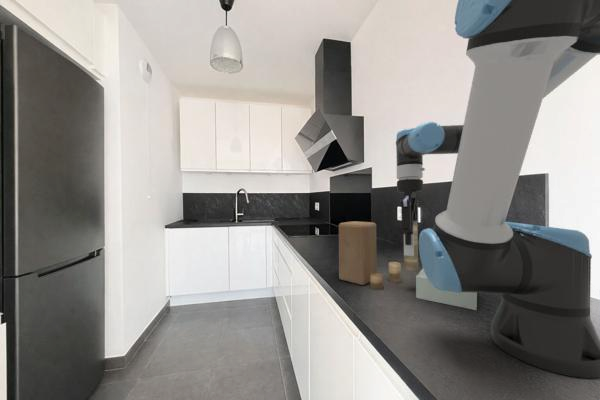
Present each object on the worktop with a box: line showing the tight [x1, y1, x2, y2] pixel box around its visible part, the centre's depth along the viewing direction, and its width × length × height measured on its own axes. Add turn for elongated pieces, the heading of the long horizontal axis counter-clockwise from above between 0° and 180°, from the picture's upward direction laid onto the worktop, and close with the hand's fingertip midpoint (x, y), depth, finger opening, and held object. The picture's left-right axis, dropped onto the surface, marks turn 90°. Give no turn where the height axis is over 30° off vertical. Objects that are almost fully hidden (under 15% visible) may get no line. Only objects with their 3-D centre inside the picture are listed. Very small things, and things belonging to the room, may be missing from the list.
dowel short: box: [369, 273, 384, 291], centre depth 79 cm, size 4×4×4 cm
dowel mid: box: [388, 261, 402, 284], centre depth 85 cm, size 4×4×6 cm
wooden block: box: [338, 220, 378, 286], centre depth 87 cm, size 10×10×20 cm
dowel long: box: [403, 221, 419, 272], centre depth 77 cm, size 4×4×15 cm
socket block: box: [415, 268, 478, 311], centre depth 72 cm, size 14×14×6 cm
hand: (410, 254), depth 77 cm, fingers closed on dowel long, 4 cm apart
